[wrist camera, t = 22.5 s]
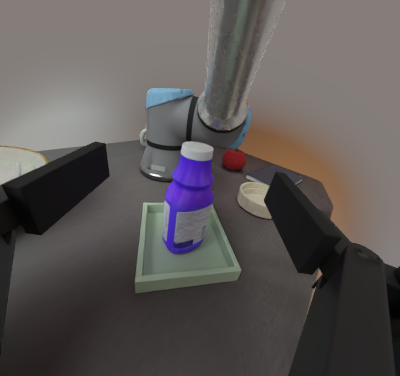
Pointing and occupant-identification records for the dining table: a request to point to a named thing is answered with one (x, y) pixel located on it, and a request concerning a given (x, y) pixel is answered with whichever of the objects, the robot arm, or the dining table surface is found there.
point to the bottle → (188, 199)
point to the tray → (182, 256)
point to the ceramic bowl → (254, 198)
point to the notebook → (272, 175)
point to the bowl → (18, 162)
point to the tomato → (234, 159)
